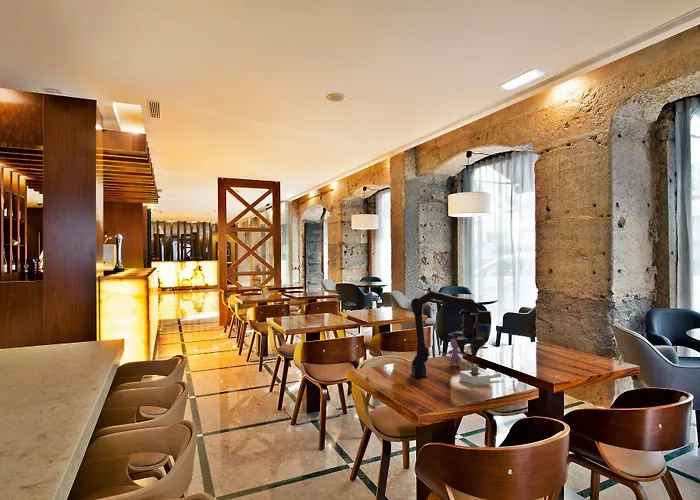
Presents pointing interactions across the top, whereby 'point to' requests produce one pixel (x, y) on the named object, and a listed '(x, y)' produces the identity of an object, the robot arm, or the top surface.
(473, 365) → the dark metal cylinder
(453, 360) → the toy
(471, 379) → the grey holed paddle
